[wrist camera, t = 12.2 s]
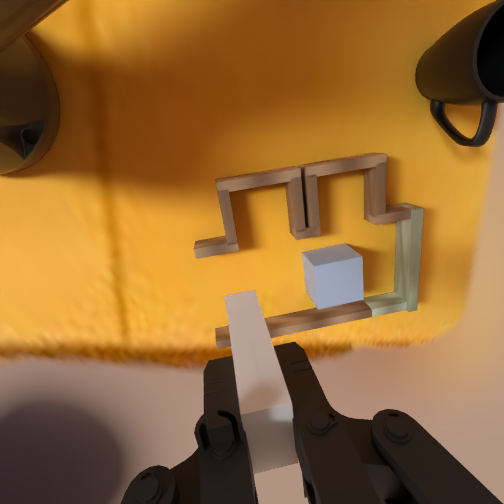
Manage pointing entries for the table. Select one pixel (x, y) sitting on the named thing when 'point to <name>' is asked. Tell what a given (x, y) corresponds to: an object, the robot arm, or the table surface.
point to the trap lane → (308, 225)
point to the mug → (466, 71)
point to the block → (333, 275)
